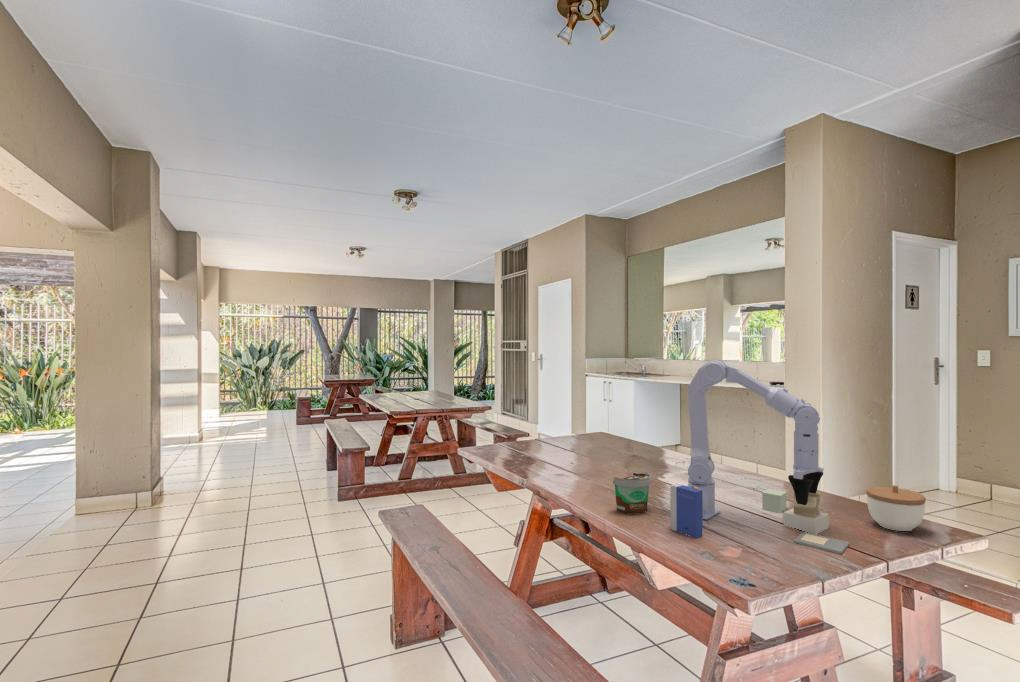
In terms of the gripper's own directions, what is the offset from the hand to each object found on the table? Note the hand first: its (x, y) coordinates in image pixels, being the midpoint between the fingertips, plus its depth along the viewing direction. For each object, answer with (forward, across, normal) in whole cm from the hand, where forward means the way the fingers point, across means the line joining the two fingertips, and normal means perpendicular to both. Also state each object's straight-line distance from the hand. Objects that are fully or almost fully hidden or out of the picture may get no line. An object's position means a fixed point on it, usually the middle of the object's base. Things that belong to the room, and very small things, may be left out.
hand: (806, 500), depth 139 cm
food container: (+7, -20, +39) cm, 44 cm away
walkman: (+7, -26, +21) cm, 34 cm away
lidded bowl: (+7, +16, -17) cm, 24 cm away
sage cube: (+7, +10, +11) cm, 16 cm away
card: (+7, -10, -6) cm, 14 cm away
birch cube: (+3, 0, 0) cm, 3 cm away
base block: (+7, 0, 0) cm, 7 cm away
